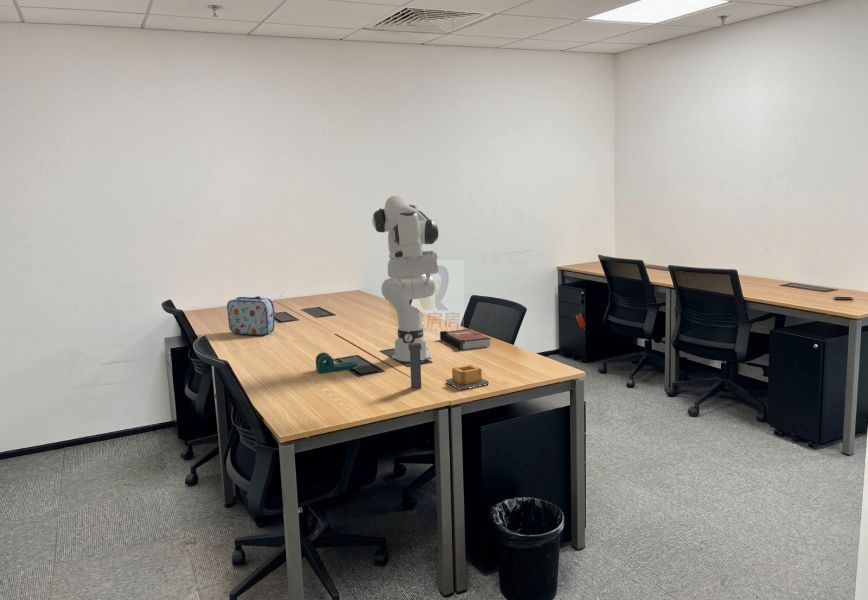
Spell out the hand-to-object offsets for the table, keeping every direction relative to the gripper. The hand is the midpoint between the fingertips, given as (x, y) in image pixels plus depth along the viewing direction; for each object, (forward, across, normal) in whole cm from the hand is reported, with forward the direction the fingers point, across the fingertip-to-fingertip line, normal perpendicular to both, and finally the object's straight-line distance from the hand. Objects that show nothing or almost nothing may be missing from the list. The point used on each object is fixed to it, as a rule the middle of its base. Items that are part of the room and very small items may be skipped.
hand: (414, 287), depth 276 cm
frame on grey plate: (+41, -18, 0) cm, 45 cm away
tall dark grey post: (+40, +3, -2) cm, 41 cm away
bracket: (+34, +29, -42) cm, 61 cm away
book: (+33, -40, -67) cm, 85 cm away
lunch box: (+20, +63, -134) cm, 149 cm away
